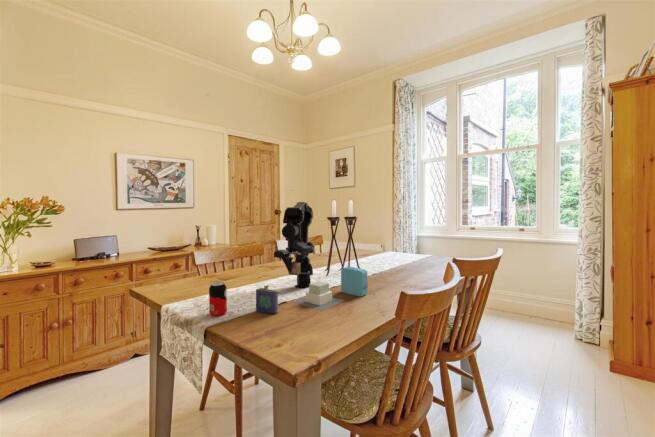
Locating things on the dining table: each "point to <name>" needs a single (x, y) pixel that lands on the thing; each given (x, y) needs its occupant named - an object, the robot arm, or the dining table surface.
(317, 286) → the tower top
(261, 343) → the dining table surface
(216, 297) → the beverage can
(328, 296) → the tower base
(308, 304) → the slate mat
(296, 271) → the brown small cylinder
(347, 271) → the data package
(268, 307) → the flask
